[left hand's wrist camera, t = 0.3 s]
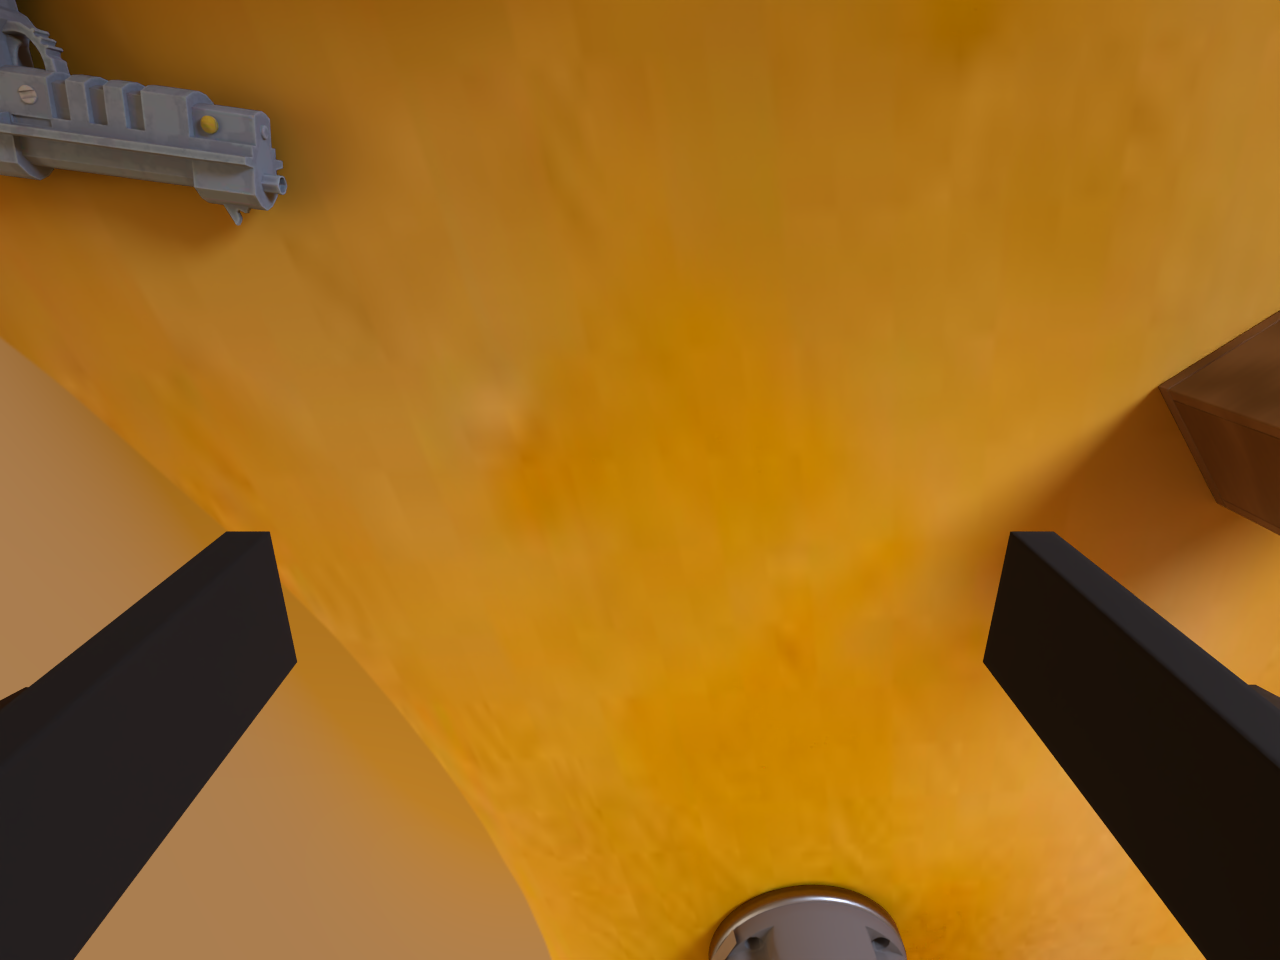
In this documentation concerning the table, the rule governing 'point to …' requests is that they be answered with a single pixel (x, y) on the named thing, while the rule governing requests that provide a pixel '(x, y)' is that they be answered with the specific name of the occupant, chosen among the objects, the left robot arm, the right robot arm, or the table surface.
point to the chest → (1235, 421)
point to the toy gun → (126, 127)
